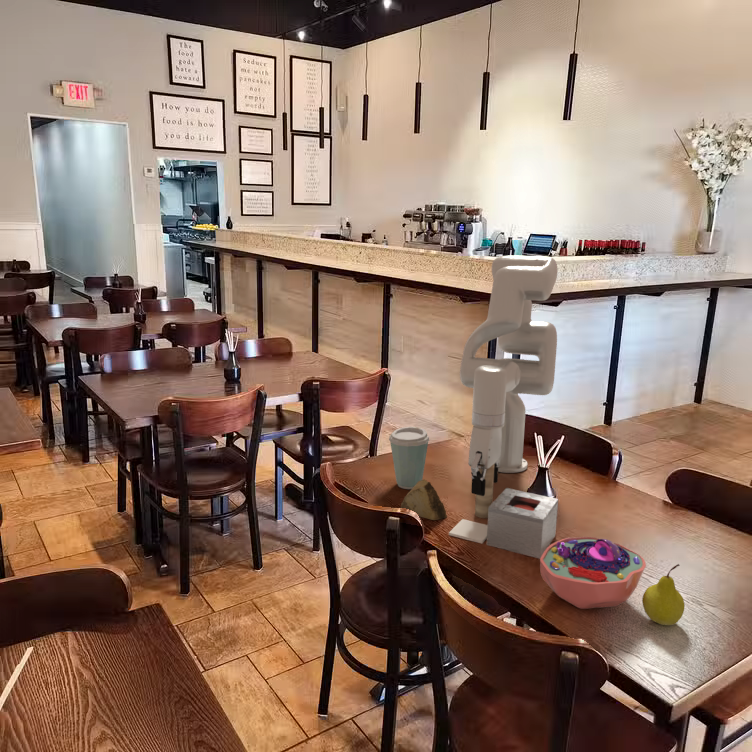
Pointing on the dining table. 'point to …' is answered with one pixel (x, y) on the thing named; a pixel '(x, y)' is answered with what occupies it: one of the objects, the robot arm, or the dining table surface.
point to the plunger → (524, 507)
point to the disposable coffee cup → (409, 455)
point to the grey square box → (522, 522)
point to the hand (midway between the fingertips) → (484, 487)
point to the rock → (424, 501)
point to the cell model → (591, 571)
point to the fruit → (663, 601)
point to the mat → (470, 531)
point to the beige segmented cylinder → (486, 500)
